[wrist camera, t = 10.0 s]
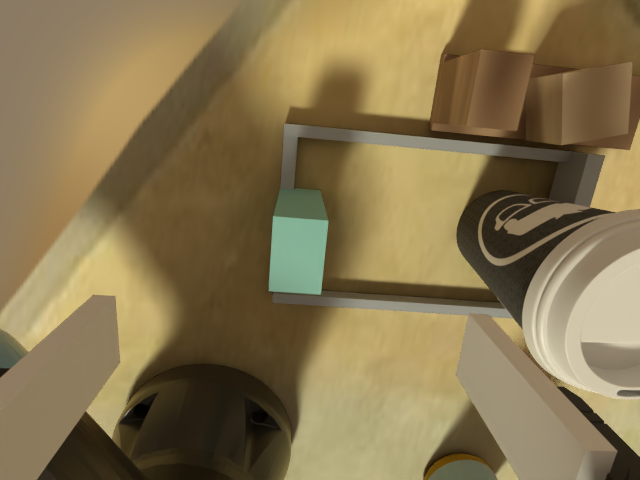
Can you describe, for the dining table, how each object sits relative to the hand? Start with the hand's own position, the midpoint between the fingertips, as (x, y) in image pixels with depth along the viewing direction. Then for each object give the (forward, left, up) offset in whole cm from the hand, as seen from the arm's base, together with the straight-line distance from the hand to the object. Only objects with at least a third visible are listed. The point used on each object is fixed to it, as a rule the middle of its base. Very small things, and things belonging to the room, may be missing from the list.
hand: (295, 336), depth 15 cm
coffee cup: (+16, +1, -17) cm, 23 cm away
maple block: (+17, +10, -16) cm, 26 cm away
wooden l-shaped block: (+17, +10, -17) cm, 26 cm away
